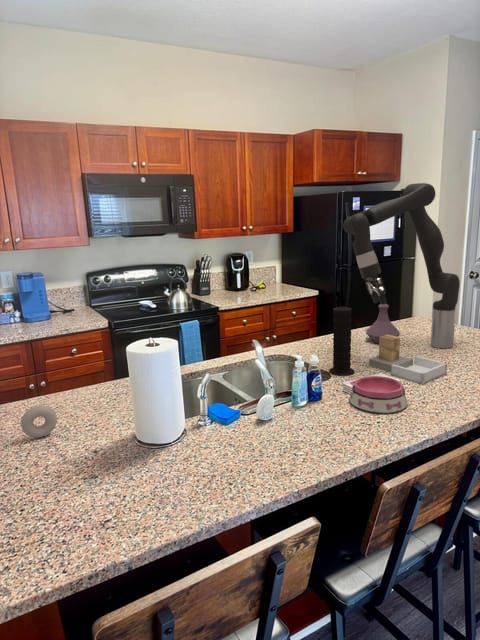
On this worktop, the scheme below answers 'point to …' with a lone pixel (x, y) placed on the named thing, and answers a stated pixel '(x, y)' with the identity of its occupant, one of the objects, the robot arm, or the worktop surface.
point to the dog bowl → (378, 395)
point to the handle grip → (342, 342)
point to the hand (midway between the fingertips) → (380, 303)
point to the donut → (32, 415)
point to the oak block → (389, 347)
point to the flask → (382, 325)
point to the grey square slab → (389, 363)
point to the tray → (420, 370)
